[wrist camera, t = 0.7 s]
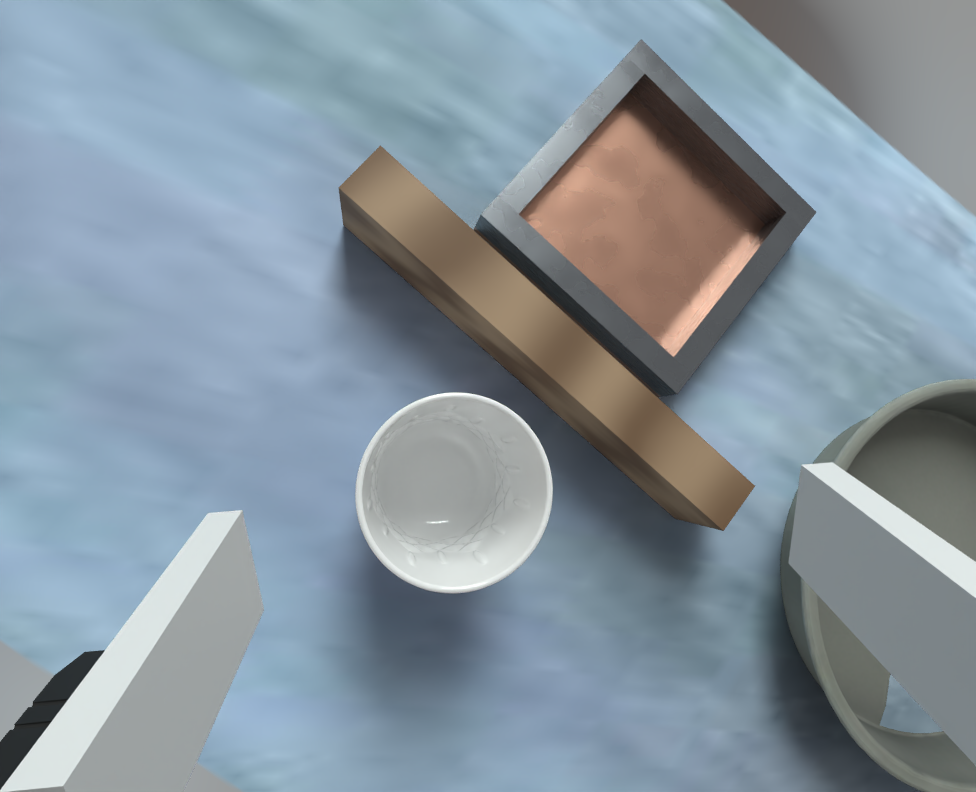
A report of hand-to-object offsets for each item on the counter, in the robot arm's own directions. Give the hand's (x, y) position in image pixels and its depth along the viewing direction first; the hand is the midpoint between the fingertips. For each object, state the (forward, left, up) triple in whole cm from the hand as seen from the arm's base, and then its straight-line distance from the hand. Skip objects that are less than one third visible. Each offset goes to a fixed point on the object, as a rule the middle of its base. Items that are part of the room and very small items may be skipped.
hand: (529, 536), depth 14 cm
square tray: (0, +20, -19) cm, 28 cm away
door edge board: (0, +9, -19) cm, 21 cm away
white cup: (0, 0, -20) cm, 20 cm away
